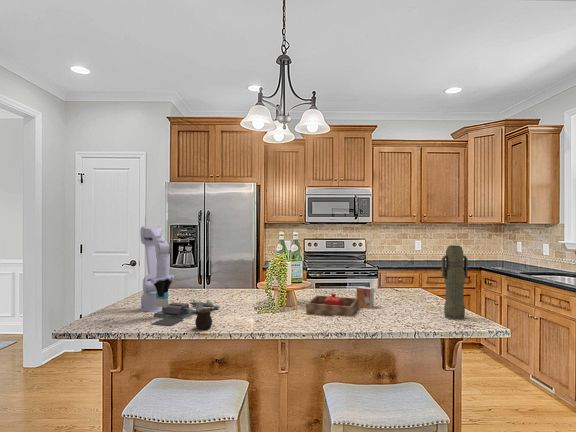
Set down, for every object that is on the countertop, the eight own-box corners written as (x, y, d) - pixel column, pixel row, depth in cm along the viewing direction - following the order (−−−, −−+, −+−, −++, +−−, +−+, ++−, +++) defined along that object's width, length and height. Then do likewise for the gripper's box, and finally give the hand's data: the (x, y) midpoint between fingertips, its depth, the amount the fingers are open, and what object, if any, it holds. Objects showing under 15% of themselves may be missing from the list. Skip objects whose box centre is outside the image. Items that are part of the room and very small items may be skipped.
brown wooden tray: (306, 313, 190) (306, 303, 190) (316, 304, 211) (316, 295, 211) (351, 317, 183) (352, 307, 183) (358, 307, 203) (358, 298, 203)
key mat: (151, 324, 170) (151, 323, 170) (165, 319, 179) (165, 318, 179) (170, 326, 166) (170, 325, 166) (183, 321, 176) (183, 319, 176)
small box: (356, 307, 205) (356, 287, 205) (359, 305, 210) (359, 286, 210) (370, 309, 201) (370, 289, 201) (373, 306, 206) (373, 287, 206)
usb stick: (155, 306, 182) (155, 292, 182) (158, 305, 184) (158, 291, 184) (165, 307, 180) (165, 293, 180) (168, 306, 182) (168, 292, 182)
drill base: (154, 316, 183) (154, 313, 183) (169, 310, 195) (169, 307, 195) (182, 319, 178) (182, 316, 178) (196, 313, 190) (196, 310, 190)
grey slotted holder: (162, 312, 184) (162, 306, 184) (173, 308, 192) (173, 302, 192) (190, 315, 179) (190, 309, 179) (201, 311, 187) (201, 305, 187)
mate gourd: (197, 326, 167) (197, 303, 167) (214, 326, 167) (214, 303, 167) (193, 331, 160) (193, 307, 160) (210, 331, 160) (211, 307, 160)
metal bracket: (214, 299, 189) (185, 298, 190) (213, 310, 187) (183, 310, 188) (221, 304, 202) (193, 303, 203) (220, 315, 200) (192, 314, 201)
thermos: (437, 317, 183) (437, 245, 184) (460, 316, 185) (460, 245, 186) (448, 322, 175) (448, 246, 175) (471, 321, 177) (471, 246, 177)
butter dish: (328, 306, 208) (328, 290, 208) (347, 308, 202) (347, 292, 202) (318, 310, 198) (318, 294, 198) (338, 313, 192) (338, 296, 192)
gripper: (159, 270, 174) (159, 299, 174) (179, 266, 188) (178, 293, 188) (147, 269, 176) (147, 298, 176) (167, 265, 190) (167, 292, 190)
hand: (162, 296), depth 182 cm, fingers closed on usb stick, 2 cm apart
